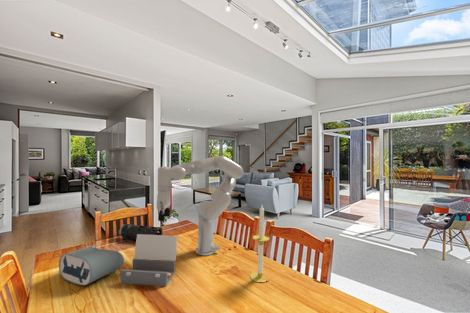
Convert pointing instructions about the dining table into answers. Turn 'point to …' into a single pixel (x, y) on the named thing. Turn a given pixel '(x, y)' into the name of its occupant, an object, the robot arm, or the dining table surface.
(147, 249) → the plate
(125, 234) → the muzzle brake
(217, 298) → the dining table surface
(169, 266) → the cable duct
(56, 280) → the dining table surface
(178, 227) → the dining table surface
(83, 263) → the pencil case
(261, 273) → the candle
